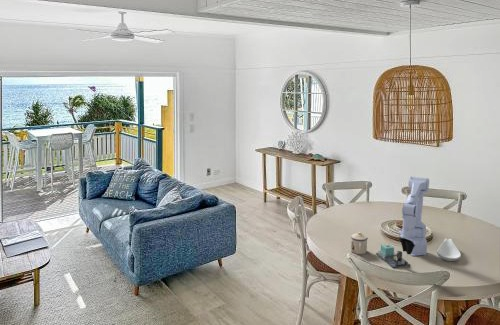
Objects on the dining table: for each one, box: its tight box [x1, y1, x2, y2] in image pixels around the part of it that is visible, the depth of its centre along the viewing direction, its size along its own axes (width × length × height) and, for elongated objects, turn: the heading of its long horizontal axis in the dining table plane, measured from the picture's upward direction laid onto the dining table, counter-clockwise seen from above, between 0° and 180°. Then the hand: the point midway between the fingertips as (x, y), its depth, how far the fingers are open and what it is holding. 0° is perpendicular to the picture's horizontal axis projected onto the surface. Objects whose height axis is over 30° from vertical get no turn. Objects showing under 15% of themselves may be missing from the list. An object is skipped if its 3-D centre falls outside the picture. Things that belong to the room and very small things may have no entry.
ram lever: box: [393, 250, 405, 265], centre depth 209 cm, size 4×6×6 cm, turn 11°
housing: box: [380, 243, 395, 255], centre depth 219 cm, size 5×5×5 cm
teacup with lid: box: [350, 231, 369, 255], centre depth 224 cm, size 12×9×12 cm
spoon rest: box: [436, 238, 462, 262], centre depth 220 cm, size 24×12×7 cm, turn 157°
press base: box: [375, 250, 411, 269], centre depth 215 cm, size 10×18×2 cm, turn 11°
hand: (407, 252), depth 201 cm, fingers open, 3 cm apart
